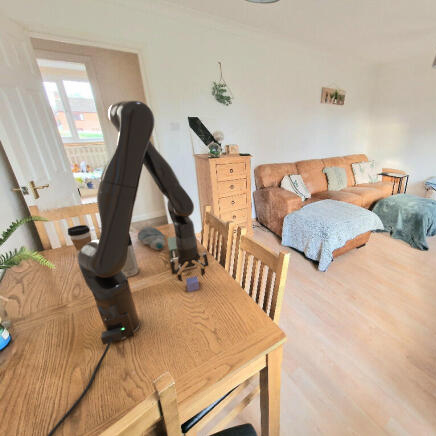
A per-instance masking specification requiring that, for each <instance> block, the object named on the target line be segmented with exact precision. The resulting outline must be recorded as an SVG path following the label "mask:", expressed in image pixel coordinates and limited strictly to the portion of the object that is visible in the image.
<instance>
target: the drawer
mask: <svg viewBox="0 0 436 436" xmlns="http://www.w3.org/2000/svg"><path fill="white" fill-rule="evenodd" d="M172 252H173V258H172V259H174V260H176V259H178V252H177V250H174V251H172ZM179 265H180V263H178V262H177V263H176V265H174V266H175V270H177V269H178V267H179ZM193 268H199V267H198V266H197V265H194V266H190V267H187V268H186V267H185V268H184V270H183V271H187V270H191V269H193Z"/></svg>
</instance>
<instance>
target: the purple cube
mask: <svg viewBox="0 0 436 436" xmlns="http://www.w3.org/2000/svg"><path fill="white" fill-rule="evenodd" d="M185 281H186V282H185V283H186V288H187V292H188V293H190V292H194V291H198V290H200V283H199V278H198V275H195V276H191V277H190V276H189V277H187V278H185Z"/></svg>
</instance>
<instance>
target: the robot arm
mask: <svg viewBox="0 0 436 436" xmlns="http://www.w3.org/2000/svg"><path fill="white" fill-rule="evenodd" d="M108 118H109V121H110V123H111V125H112V126H113V127H114V128H115V130H116V132H118V137H117V143H116V147H115V148H114V151H113V153H112V154H111V156H110V157H109V160H108V161H107V163H106V164H105V166H104V168H103V171H102V173H101V175H100V179H99V184H98V187H97V195H96V203H97V210H98V215H99V219H100V235H99V239H98V240H92V242H89V243H87V244H86V245H84V246H83V247H82V249H81V250H80V252H79V254H78V253H77V254H78V255H77V263H78V267H79V269H80V272H81V275H82V277H83V279H84V282H85V284H86V286H87V287H88V289H89V290H90V292H91V293H92V297H93V299H94V301H95V304H96V307H97V308H96V309H97V310H98V313H99V317H100V320H101V322H102V325H103V329H104V330H105V331H102V332H101V336H100V340H101V343H102V345H103V346H104V345H106V347H105V349H104V350H103V353H102V355H101V357H100V359H99V360H98V362H97V365H96V366H95V368H94V371H93V373H92V375H91V378H89V382H87V385H86V387H85V389H84V390H83V391H82V393H81V394H80V395H79V397H78V398H77V399H76V401H75V402H74V403H73V404H72V406H71V407H70V408H69V409H68V410H67V412H65V414H64V415H63V416H62V417H61V418H60V420H59V421H58V422H57V424H55V426H54V427H53V428H52V430H51V431H49V433H48V434H47V435H46V436H53V434H54V433H55V432H56V431H57V430H58V428H59V427H60V426H61V425H62V424H63V423H64V421H65V420H66V419H67V417H68V416H69V415H70V414H71V413H72V412H73V411H74V409H75V408H76V407H77V406H78V405H79V403H80V402H81V401H82V399H83V398H84V397H85V395H86V394H87V392H88V391H89V390H90V388H91V385H92V384H93V382H94V380H95V377H96V374H97V373H98V370H99V369H100V366H101V365H102V363H103V360H104V359H105V357H106V354H107V353H108V351H109V348H110V346H111V344H113V343H117V342H120V341H123V340H127V339H129V338H132V337H135V333H136V332H137V331H139V329H140V327H141V321H140V319H139V315H138V311H137V307H136V304H135V301H134V297H133V294H132V290H131V286H130V282H129V279H128V278H129V277H127V276H126V275H125V274H124V273H123V272H122V271H121V270H122V269H123V267H124V265H125V263H126V260H127V253H128V240H129V233H130V229H131V224H132V220H133V214H134V210H135V204H136V201H137V197H138V191H139V188H140V187H139V186H140V180H141V176H142V172H143V171H142V170H143V167H144V168H145V169H146V170H147V172H148V173H149V175H150V177H151V179H152V180H153V182H154V184H155V185H156V186H157V189H158V190H159V191H160V193H161V194H162V195H163V196H164V197H166V199H167V212H168V215H169V217H170V219H171V222H172V224H173V231H174V235H175V236H174V237H176V246H177V252H178V259H176V260H174V259H171V258H170V261H169V262H170V269H171V270H170V271H171V275H173V276H174V275H176V276H177V281H179V282H183V278H182V272H183V271H185V270H184V268H185V267H186V268H187V267H190V266H194V265H197V266H198V267H197V268H200V274H201V277H204V275H205V274H206V270H205V268H206V267H209V260H208V254H207V253H206V251H203V252H202V253H199V248H198V240H197V236H196V231H195V224H194V221H193V220H192V218H190V216H191V215H192V214H193V213H194V210H195V204H194V202H193V200H192V198H191V196H190V195H189V194H188V192H187V191H186V190H185V188H184V187H183V186H182V184H181V183H180V180H179V178H178V177H177V174H176V173H175V171H174V169H173V167H172V166H171V164H169V162H168V161H167V160H166V159H165V157H164V156H163V155H162V154H161V153H160V152H159V150H158V149H156V147H155V145H154V144H153V142H152V141H151V138H152V134H153V131H154V128H155V115H154V112H153V111H152V109H151V108H150V107H149V105H148V104H146V103H145V102H142V101H139V100H122V101H117V102H114V103H113V104H112V105H111V106H110V107H109V109H108ZM200 258H201V259H203V261H204V262H202V261H200ZM177 262H178V263H180V265H179V267H178V269H177V270H175V266H174V265H176V263H177Z"/></svg>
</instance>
